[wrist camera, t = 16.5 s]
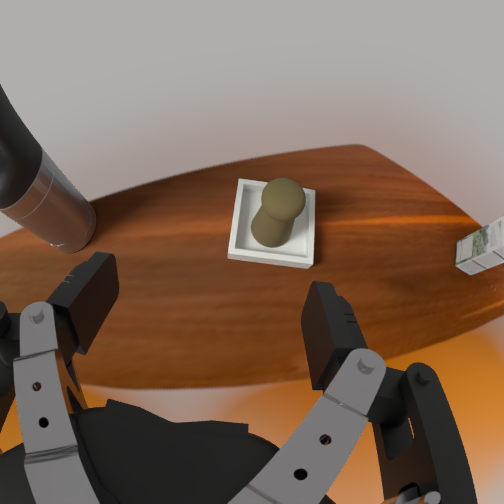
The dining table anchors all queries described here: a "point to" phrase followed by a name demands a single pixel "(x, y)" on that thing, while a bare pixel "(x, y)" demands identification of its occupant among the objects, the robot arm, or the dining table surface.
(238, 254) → the keeper tray
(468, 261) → the syrup box
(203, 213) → the dining table surface
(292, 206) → the cork
